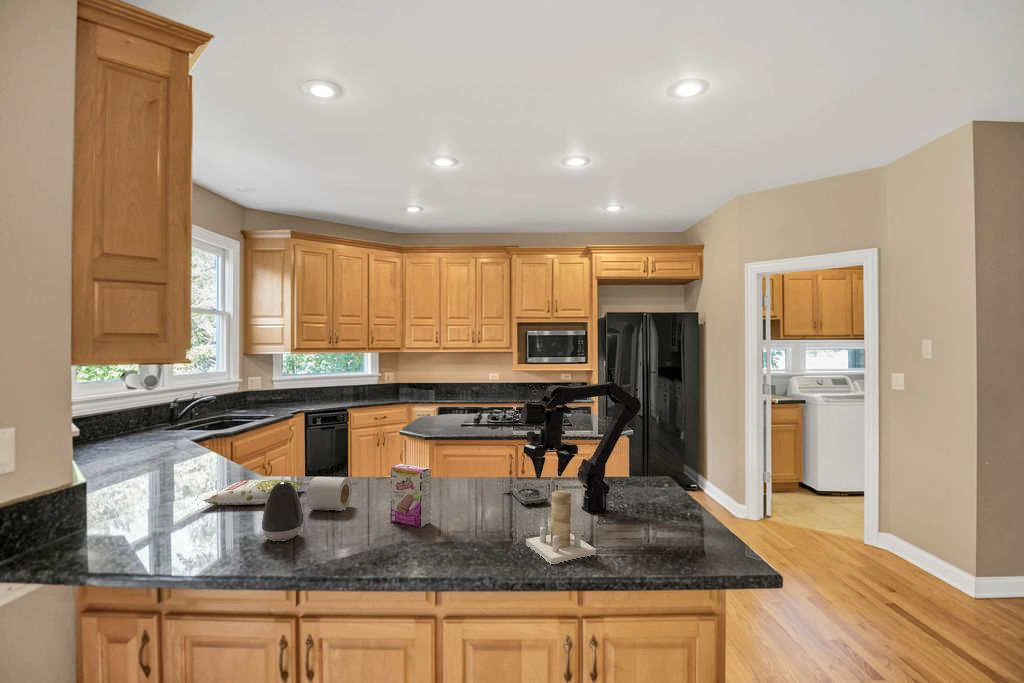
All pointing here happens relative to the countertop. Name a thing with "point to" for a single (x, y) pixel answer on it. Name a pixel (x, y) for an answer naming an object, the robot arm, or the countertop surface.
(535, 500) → the graphics card
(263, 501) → the frozen beans
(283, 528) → the aroma diffuser
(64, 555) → the countertop surface
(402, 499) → the candy bar box
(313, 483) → the toilet paper
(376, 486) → the countertop surface
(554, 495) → the maple post
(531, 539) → the pin plate
